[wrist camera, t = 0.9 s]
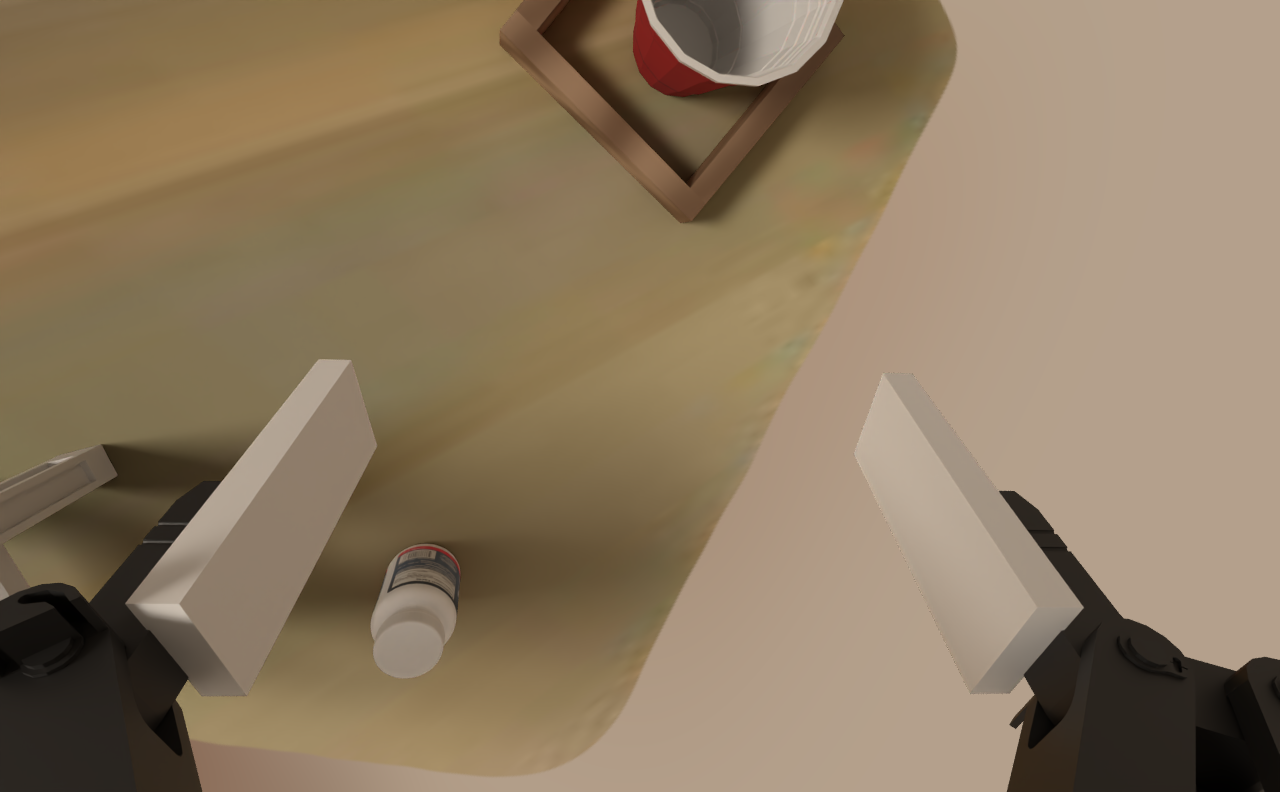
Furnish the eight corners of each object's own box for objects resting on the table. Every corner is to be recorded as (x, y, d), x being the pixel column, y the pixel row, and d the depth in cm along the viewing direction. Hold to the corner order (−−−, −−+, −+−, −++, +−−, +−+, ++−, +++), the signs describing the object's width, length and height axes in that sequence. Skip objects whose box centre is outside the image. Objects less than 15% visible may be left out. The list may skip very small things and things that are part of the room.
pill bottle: (431, 616, 44) (416, 703, 35) (371, 583, 42) (340, 666, 33) (475, 564, 43) (471, 638, 35) (416, 528, 42) (397, 597, 33)
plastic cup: (699, -81, 37) (790, -230, 25) (773, 82, 40) (882, 15, 29) (559, 6, 36) (589, -107, 25) (647, 165, 40) (708, 129, 28)
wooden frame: (499, 44, 36) (500, 29, 33) (663, -159, 35) (675, -189, 33) (680, 222, 41) (691, 221, 39) (824, 48, 41) (844, 35, 38)
